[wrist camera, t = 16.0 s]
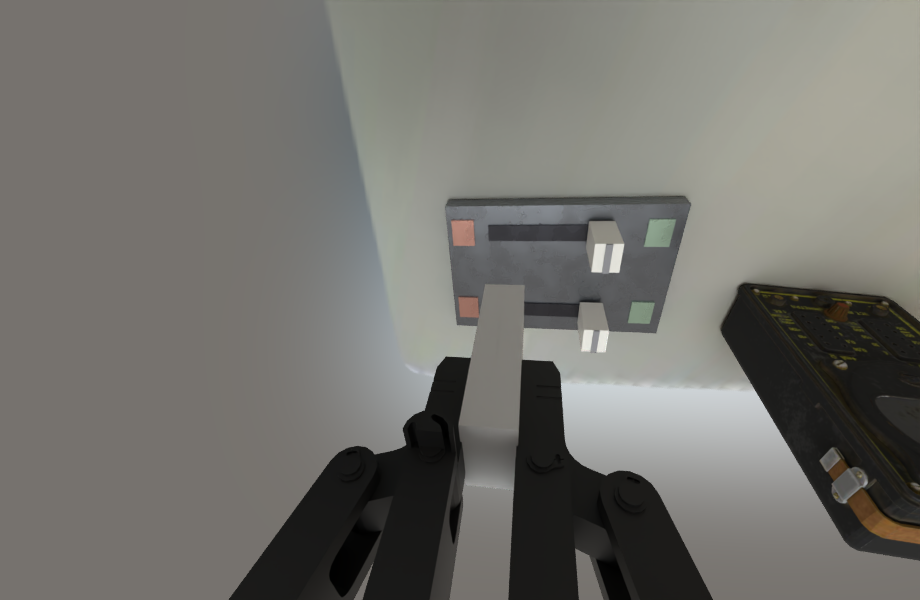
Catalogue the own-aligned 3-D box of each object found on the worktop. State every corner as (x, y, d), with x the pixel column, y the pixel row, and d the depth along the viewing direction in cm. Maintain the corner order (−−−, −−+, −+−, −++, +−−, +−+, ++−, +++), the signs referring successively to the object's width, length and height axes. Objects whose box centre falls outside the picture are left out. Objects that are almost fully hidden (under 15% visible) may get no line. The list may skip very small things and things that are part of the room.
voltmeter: (898, 289, 41) (1244, 545, 21) (849, 350, 46) (1090, 603, 26) (739, 274, 43) (919, 497, 23) (708, 334, 48) (833, 560, 28)
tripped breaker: (579, 302, 45) (584, 330, 41) (602, 302, 45) (609, 332, 41) (577, 322, 47) (581, 352, 43) (599, 323, 47) (605, 353, 42)
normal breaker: (589, 221, 40) (595, 244, 35) (615, 220, 39) (624, 245, 35) (585, 247, 41) (591, 273, 37) (610, 247, 41) (619, 273, 37)
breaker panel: (448, 199, 43) (444, 207, 42) (684, 196, 39) (691, 204, 37) (459, 315, 52) (456, 326, 51) (652, 322, 48) (656, 334, 47)
